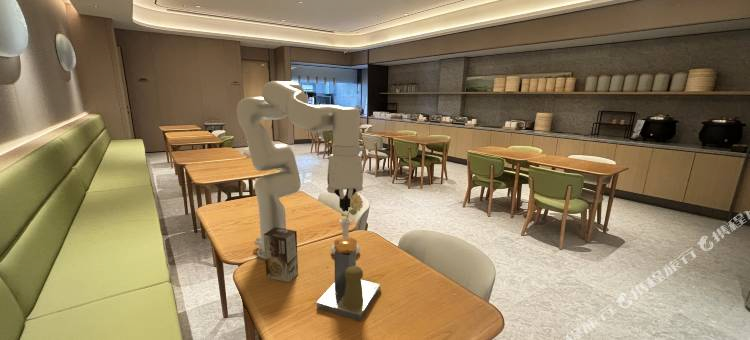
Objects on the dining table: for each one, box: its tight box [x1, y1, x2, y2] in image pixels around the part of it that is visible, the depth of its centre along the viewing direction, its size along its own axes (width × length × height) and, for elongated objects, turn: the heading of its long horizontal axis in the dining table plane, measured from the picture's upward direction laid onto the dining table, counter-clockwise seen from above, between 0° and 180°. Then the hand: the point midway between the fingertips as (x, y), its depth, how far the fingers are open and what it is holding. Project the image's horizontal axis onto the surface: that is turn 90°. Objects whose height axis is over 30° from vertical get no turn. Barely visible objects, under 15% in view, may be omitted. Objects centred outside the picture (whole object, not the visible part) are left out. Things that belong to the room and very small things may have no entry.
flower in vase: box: [330, 192, 364, 255], centre depth 124 cm, size 13×11×25 cm
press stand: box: [316, 250, 382, 322], centre depth 97 cm, size 14×16×14 cm
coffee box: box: [264, 227, 299, 283], centre depth 108 cm, size 9×6×16 cm
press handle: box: [333, 236, 358, 254], centre depth 100 cm, size 7×7×13 cm
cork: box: [343, 265, 364, 309], centre depth 92 cm, size 6×6×11 cm
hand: (344, 209), depth 97 cm, fingers closed
